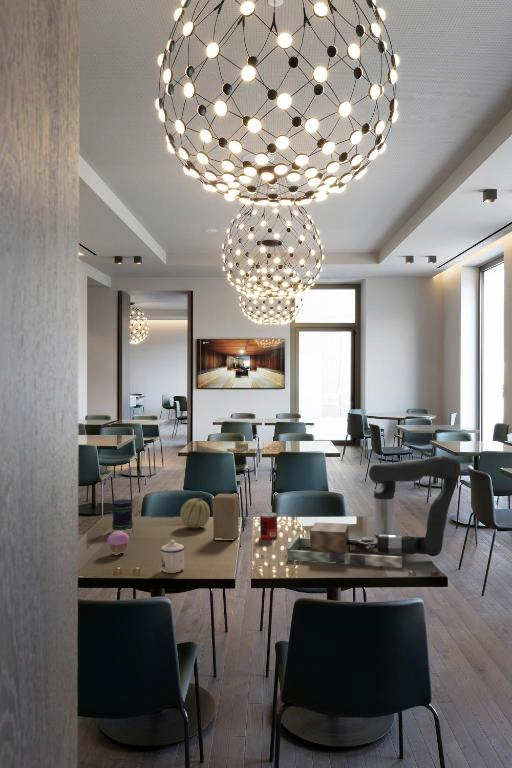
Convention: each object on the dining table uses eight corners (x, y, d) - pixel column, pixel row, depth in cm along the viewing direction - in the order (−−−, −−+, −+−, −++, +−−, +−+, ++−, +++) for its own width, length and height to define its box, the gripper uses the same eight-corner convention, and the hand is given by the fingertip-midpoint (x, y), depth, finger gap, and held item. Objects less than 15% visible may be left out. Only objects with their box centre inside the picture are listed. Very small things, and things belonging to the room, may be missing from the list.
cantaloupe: (180, 525, 306) (180, 495, 305) (209, 523, 307) (209, 494, 307) (180, 532, 291) (179, 501, 291) (210, 531, 293) (210, 500, 292)
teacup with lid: (162, 567, 238) (161, 537, 238) (185, 566, 239) (184, 537, 238) (159, 577, 226) (158, 546, 226) (183, 576, 227) (183, 545, 226)
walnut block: (348, 552, 254) (348, 523, 253) (345, 562, 240) (344, 532, 240) (316, 550, 257) (315, 522, 257) (310, 560, 244) (310, 530, 243)
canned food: (279, 536, 281) (278, 512, 281) (274, 540, 273) (273, 516, 273) (263, 535, 283) (263, 511, 283) (258, 539, 276) (257, 515, 276)
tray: (403, 552, 251) (403, 540, 251) (402, 567, 231) (401, 554, 231) (297, 546, 263) (297, 535, 263) (287, 560, 243) (287, 548, 243)
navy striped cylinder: (110, 530, 296) (110, 500, 296) (130, 528, 301) (129, 498, 300) (114, 535, 287) (114, 504, 287) (135, 533, 292) (134, 502, 291)
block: (234, 541, 273) (233, 497, 272) (213, 541, 275) (212, 497, 274) (239, 536, 282) (238, 493, 282) (218, 535, 284) (217, 493, 284)
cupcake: (122, 550, 262) (121, 527, 262) (133, 554, 256) (132, 530, 256) (104, 554, 256) (103, 531, 256) (115, 558, 250) (114, 534, 250)
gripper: (390, 530, 249) (348, 529, 253) (389, 539, 236) (344, 537, 241) (390, 548, 249) (348, 546, 253) (389, 558, 236) (345, 555, 241)
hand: (346, 542), depth 247 cm, fingers closed
